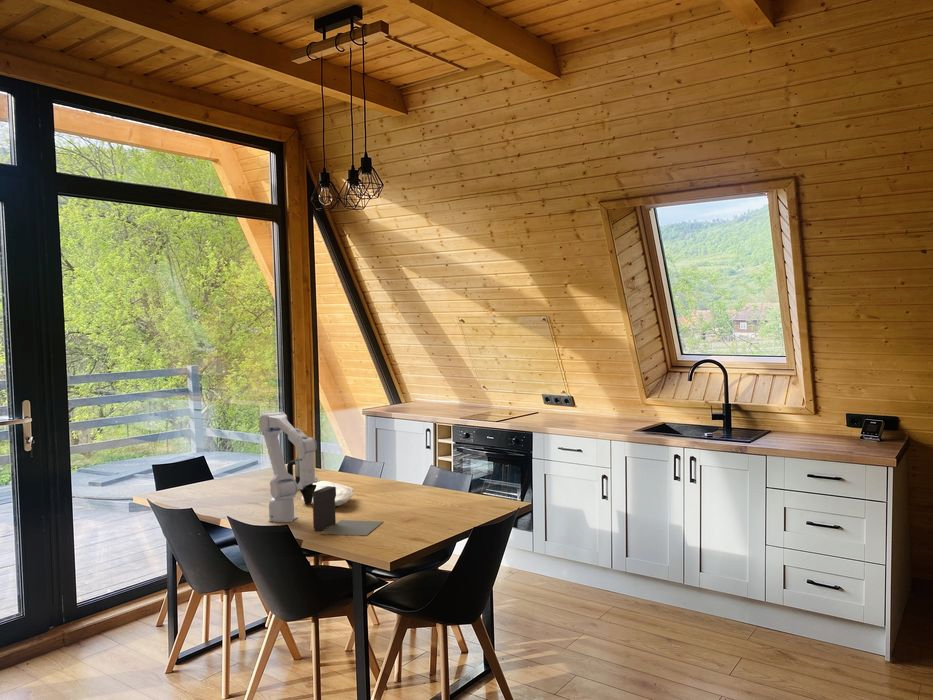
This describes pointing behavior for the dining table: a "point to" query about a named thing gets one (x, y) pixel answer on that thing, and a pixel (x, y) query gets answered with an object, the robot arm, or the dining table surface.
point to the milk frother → (297, 469)
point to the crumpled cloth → (341, 491)
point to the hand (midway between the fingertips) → (308, 504)
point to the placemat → (352, 527)
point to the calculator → (324, 508)
